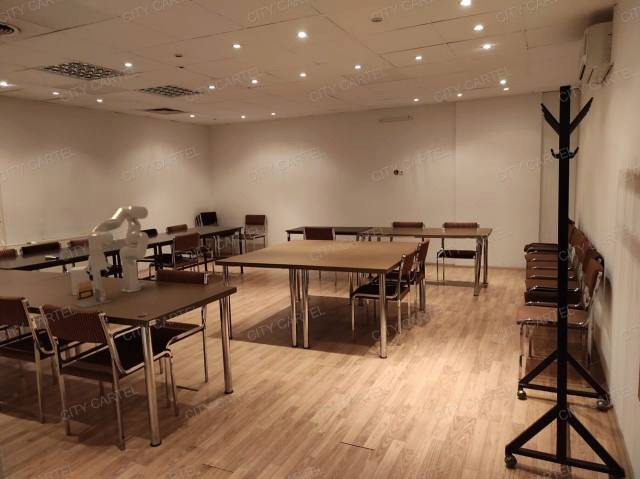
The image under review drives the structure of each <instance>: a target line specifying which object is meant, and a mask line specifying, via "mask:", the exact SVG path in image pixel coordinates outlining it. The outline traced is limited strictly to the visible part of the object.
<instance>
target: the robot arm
mask: <svg viewBox="0 0 640 479" xmlns="http://www.w3.org/2000/svg"><path fill="white" fill-rule="evenodd" d="M148 215H149V211H148V209H147V208H146V207H145V206H138V205H120V206H118V207H117V208H116V209H115V210H114V211H113V213H112V214H111V215H110V217H108V219H106V220H104V221H103V222H101V223H100V224H99V223H98V225H97V226H95V228H94V229H92V231H91V233H89V234H88V236H87V238H88V239H87V241H88V248H89V256H88V265H86V266H87V267H86V268H84V271H85V272H86V273H87V274H89V279H90V281H93V275H92V273H93V272H94V271H99V270H100V271H103V270H104V277H105V278H106V279H108V278H109V276H110V274H109V272H110V271H111V269H112V265H113V263H110V262H108V261H107V258H106V255H105V254H104V252H106V250H105V249H103V244H110V243H111V242H112V241H113V240H114V235H113V233H112V232H110V231H114V230H116V229H119V228H120V227H121V226H122V224H123V223H124V221H127V223H128V224H127V225H128V226H127V229H126V230H127V231H126V234H125V240H124V241H125V244H126V245H127V246H123V247H122V248H120V250H119V257H120V260H121V268H122V282H123V288H122V289H121V292H123V293H135V292H138V291H142V287H145V285H146V283H145V282H144V283H143V282H141V283H140V282H139V277H138V266H137V265H138V264H137V263H136V261H141V260H144V258H145V257H146V254H147V251H148V250H147V249H148V245H149V235H148V233H146V232H144V231H141V230H142V225H141V222H140V221H139V220H142V219H144V220H145V219H146V218H147V217H148ZM87 269H89V270H90V271H88V270H87Z"/></svg>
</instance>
